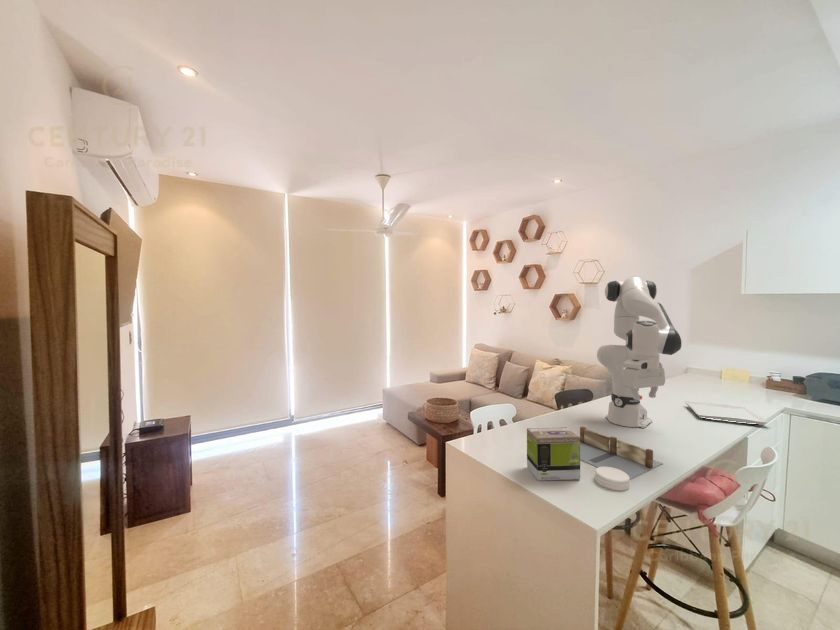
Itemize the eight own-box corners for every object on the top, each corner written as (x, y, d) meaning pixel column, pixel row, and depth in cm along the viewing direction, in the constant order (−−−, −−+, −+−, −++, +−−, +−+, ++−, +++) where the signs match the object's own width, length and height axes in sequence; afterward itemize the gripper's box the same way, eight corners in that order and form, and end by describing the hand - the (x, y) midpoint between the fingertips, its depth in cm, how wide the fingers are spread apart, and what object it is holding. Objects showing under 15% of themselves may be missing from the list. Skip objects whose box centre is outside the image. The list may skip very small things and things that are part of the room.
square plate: (683, 406, 199) (683, 400, 199) (744, 413, 187) (745, 406, 187) (697, 420, 174) (697, 413, 174) (768, 429, 162) (769, 421, 162)
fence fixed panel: (582, 441, 146) (582, 426, 146) (617, 454, 133) (618, 438, 133) (578, 442, 145) (578, 427, 144) (614, 456, 132) (614, 439, 131)
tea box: (566, 466, 123) (567, 426, 123) (580, 480, 113) (581, 437, 112) (525, 467, 122) (526, 426, 122) (536, 481, 112) (537, 437, 112)
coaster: (601, 490, 107) (601, 479, 107) (590, 474, 117) (590, 464, 117) (635, 493, 106) (635, 482, 106) (621, 477, 116) (621, 467, 116)
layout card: (591, 438, 149) (591, 437, 149) (662, 463, 125) (663, 462, 125) (556, 449, 137) (556, 448, 137) (627, 480, 113) (627, 479, 113)
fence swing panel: (615, 455, 131) (615, 439, 131) (618, 454, 132) (618, 438, 132) (650, 468, 120) (651, 452, 120) (653, 467, 122) (654, 450, 121)
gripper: (653, 360, 137) (652, 394, 137) (620, 362, 129) (619, 398, 129) (670, 362, 132) (669, 398, 132) (636, 365, 123) (636, 402, 123)
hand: (644, 398), depth 130 cm, fingers open, 8 cm apart
